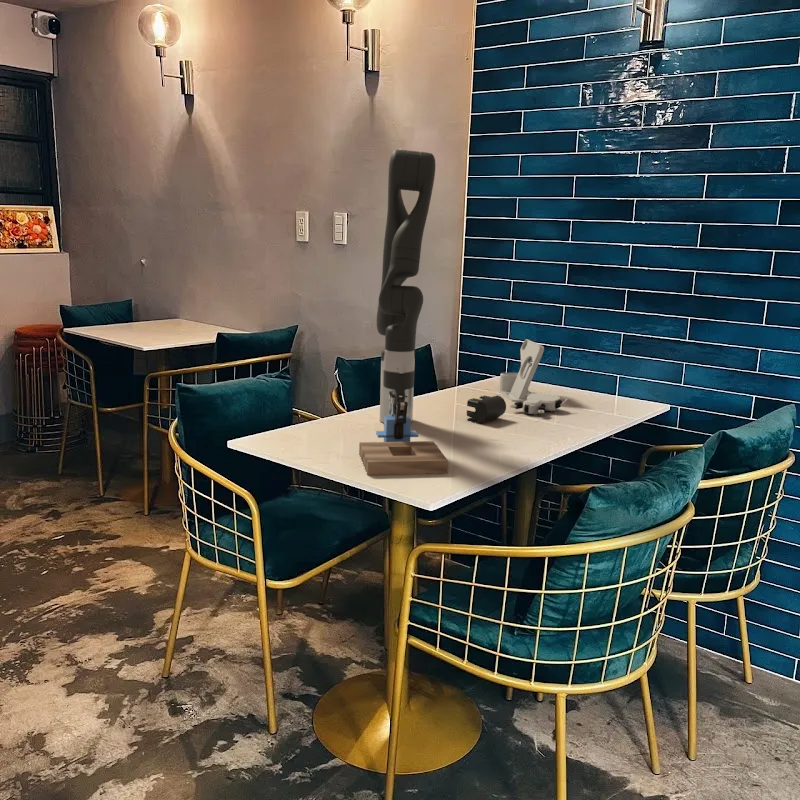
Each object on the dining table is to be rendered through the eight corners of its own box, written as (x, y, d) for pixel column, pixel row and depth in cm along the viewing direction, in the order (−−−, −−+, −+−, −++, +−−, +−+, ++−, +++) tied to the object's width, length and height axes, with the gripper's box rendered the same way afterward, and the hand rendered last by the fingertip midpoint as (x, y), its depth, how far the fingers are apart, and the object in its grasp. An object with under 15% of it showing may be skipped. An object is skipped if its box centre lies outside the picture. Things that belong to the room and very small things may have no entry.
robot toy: (543, 422, 232) (568, 410, 243) (543, 407, 231) (568, 396, 242) (507, 415, 239) (533, 403, 250) (507, 400, 238) (533, 390, 249)
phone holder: (497, 390, 269) (500, 337, 266) (525, 390, 271) (529, 338, 267) (512, 402, 253) (515, 345, 249) (542, 402, 254) (546, 346, 250)
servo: (377, 449, 195) (378, 416, 194) (375, 445, 199) (376, 412, 197) (417, 448, 197) (419, 416, 195) (415, 444, 201) (416, 412, 199)
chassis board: (359, 454, 191) (359, 442, 190) (432, 453, 194) (433, 441, 193) (367, 475, 175) (367, 462, 175) (447, 473, 178) (447, 460, 178)
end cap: (486, 425, 222) (487, 402, 221) (465, 421, 227) (466, 398, 225) (505, 419, 230) (507, 396, 228) (485, 415, 234) (486, 393, 233)
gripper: (379, 363, 200) (378, 429, 204) (388, 373, 186) (386, 444, 190) (409, 363, 201) (407, 428, 205) (419, 373, 188) (417, 444, 191)
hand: (397, 436), depth 198 cm, fingers closed on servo, 4 cm apart
